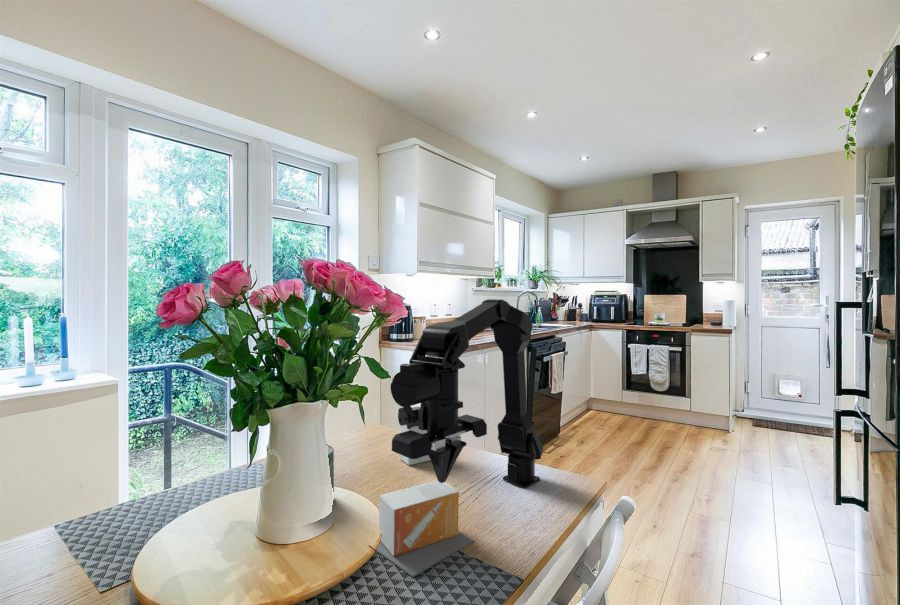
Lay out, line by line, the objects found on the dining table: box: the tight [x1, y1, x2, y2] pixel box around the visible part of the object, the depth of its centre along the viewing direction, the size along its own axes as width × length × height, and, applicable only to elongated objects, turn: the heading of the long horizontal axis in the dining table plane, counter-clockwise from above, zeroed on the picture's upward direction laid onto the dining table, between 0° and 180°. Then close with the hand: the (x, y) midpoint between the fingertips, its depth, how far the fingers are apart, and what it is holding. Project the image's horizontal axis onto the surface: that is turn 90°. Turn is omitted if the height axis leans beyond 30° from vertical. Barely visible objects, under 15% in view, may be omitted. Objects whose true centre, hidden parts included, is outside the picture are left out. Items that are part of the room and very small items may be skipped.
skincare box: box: [398, 403, 431, 466], centre depth 115 cm, size 8×6×15 cm
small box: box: [378, 479, 460, 556], centre depth 78 cm, size 8×6×13 cm
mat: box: [375, 531, 474, 578], centre depth 76 cm, size 14×12×1 cm
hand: (441, 481), depth 78 cm, fingers closed
